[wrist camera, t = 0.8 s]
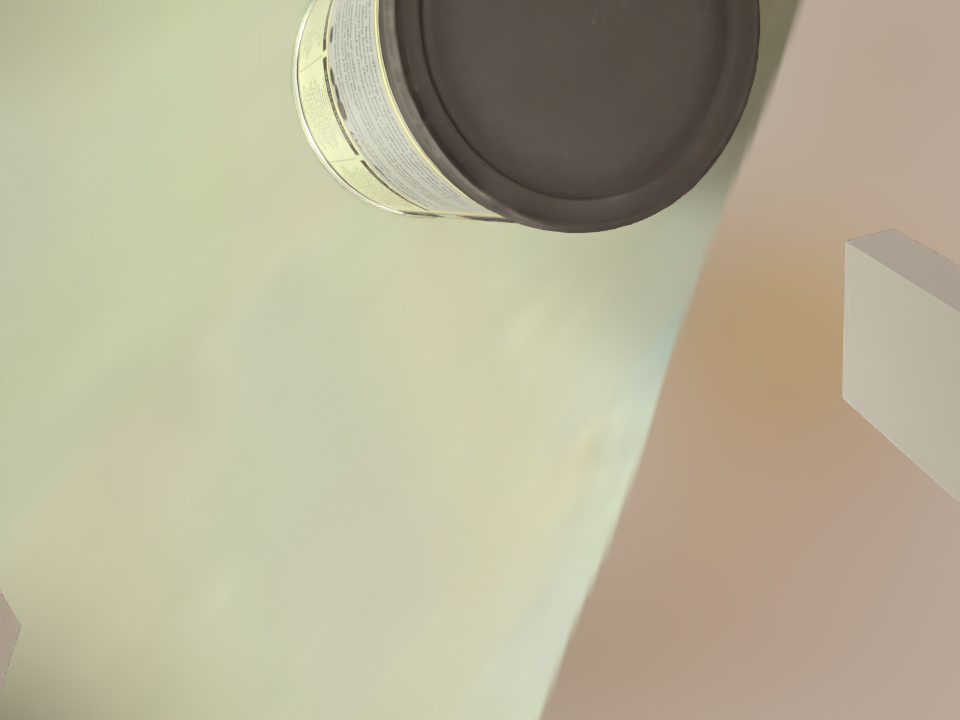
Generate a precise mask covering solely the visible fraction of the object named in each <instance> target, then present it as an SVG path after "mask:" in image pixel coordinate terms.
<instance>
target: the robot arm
mask: <svg viewBox="0 0 960 720" xmlns="http://www.w3.org/2000/svg"><path fill="white" fill-rule="evenodd" d="M844 283H845V285H844V331H843V378H842V382H843V383H842V398H843V399H844V400H845V401H846V402H848V404H850V405H851V406H852V407H853V408H854V409H855V410H856V411H858V413H860V414H861V415H862V416H863V417H864V418H865V419H867V421H869V422H870V423H871V424H872V425H873V426H874V427H875V428H876V429H877V430H879V431H880V432H881V433H882V434H883V435H884V436H885V437H886V438H887V439H889V440H890V441H891V442H892V443H893V444H894V445H895V446H896V447H897V448H899V449H900V450H901V451H902V452H903V453H904V454H905V455H906V456H908V457H909V458H910V459H911V460H912V461H913V462H914V463H915V464H916V465H917V466H919V467H920V468H921V469H922V470H923V471H924V472H925V473H926V474H927V475H929V476H930V477H931V478H932V479H933V480H934V481H935V482H936V483H937V484H939V485H940V486H941V487H942V488H943V489H944V490H945V491H946V492H948V493H949V494H950V495H951V496H952V497H953V498H954V499H955V500H956V501H958V502H959V503H960V265H958V264H956V263H955V262H953V261H951V260H949V259H947V258H945V257H944V256H942V255H940V254H938V253H937V252H935V251H933V250H931V249H929V248H927V247H926V246H924V245H922V244H920V243H919V242H917V241H915V240H913V239H911V238H910V237H908V236H906V235H904V234H902V233H901V232H899V231H897V230H895V229H890V230H886V231H882V232H878V233H874V234H871V235H867V236H863V237H859V238H856V239H852V240H848V241H845V282H844ZM20 628H21V624H20V623H19V621H18V619H17V618H16V616H15V614H14V613H13V611H12V609H11V608H10V606H9V604H8V603H7V601H6V599H5V598H4V596H3V594H2V593H1V591H0V689H1V686H2V683H3V680H4V677H5V674H6V671H7V668H8V665H9V661H10V658H11V655H12V652H13V649H14V646H15V643H16V640H17V637H18V634H19V631H20Z"/></svg>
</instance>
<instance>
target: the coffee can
mask: <svg viewBox="0 0 960 720" xmlns="http://www.w3.org/2000/svg"><path fill="white" fill-rule="evenodd" d="M759 37H760V12H759V0H312V2H311V3H310V5H309V7H308V9H307V11H306V13H305V15H304V18H303V20H302V23H301V25H300V29H299V32H298V35H297V38H296V43H295V49H294V55H293V65H292V88H293V95H294V100H295V104H296V108H297V112H298V116H299V119H300V123H301V125H302V128H303V130H304V133H305V135H306V137H307V139H308V141H309V144H310V146H311V147H312V149H313V150H314V152H315V153H316V155H317V156H318V158H319V159H320V161H321V162H322V163H323V165H324V166H325V167H326V169H327V170H328V171H329V172H330V173H331V174H332V175H333V176H334V177H335V178H336V179H337V180H338V181H339V183H340V184H341V185H342V186H343V187H344V188H346V189H347V190H348V191H350V192H352V193H353V194H355V195H356V196H358V197H359V198H361V199H362V200H363V201H365V202H367V203H369V204H371V205H373V206H375V207H378V208H380V209H382V210H385V211H388V212H391V213H395V214H399V215H403V216H410V217H420V218H428V217H434V218H435V217H447V218H456V219H467V220H480V221H492V222H508V223H519V224H521V225H525V226H529V227H532V228H537V229H542V230H548V231H556V232H565V233H589V232H600V231H606V230H612V229H616V228H619V227H622V226H627V225H631V224H633V223H636V222H638V221H641V220H643V219H646V218H648V217H650V216H652V215H654V214H656V213H658V212H659V211H661V210H663V209H665V208H667V207H668V206H670V205H671V204H673V203H674V202H675V201H677V200H678V199H680V198H681V197H682V196H683V195H685V194H686V193H687V192H688V191H689V190H691V189H692V188H693V187H694V186H695V185H696V184H697V183H698V182H699V181H700V179H701V178H702V177H703V176H704V175H705V174H706V173H707V172H708V171H709V169H710V168H711V167H712V165H713V164H714V163H715V162H716V160H717V159H718V157H719V156H720V155H721V153H722V152H723V150H724V149H725V147H726V145H727V144H728V142H729V140H730V139H731V137H732V135H733V133H734V131H735V129H736V127H737V125H738V123H739V121H740V119H741V117H742V114H743V111H744V109H745V107H746V104H747V102H748V98H749V95H750V92H751V88H752V85H753V81H754V77H755V72H756V64H757V60H758V47H759Z"/></svg>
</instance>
